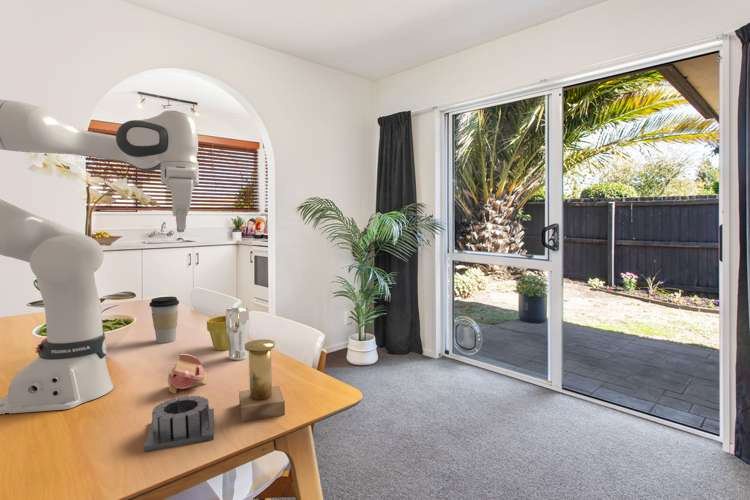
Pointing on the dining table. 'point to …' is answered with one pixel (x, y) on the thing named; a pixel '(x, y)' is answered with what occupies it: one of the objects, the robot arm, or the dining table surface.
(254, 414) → the stand
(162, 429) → the hub
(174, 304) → the coffee cup
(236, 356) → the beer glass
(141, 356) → the dining table surface
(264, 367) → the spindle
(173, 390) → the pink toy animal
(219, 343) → the plant pot
